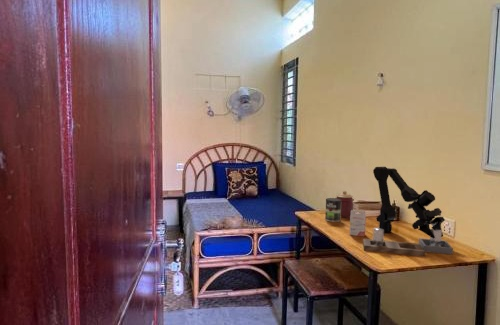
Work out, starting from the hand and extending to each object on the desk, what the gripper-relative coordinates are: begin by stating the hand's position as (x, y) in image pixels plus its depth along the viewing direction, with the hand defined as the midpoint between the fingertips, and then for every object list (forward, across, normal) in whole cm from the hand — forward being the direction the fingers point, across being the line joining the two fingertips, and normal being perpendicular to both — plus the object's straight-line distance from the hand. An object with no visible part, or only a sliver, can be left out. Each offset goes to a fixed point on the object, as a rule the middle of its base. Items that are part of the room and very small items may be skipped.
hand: (438, 237), depth 179 cm
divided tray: (-2, -22, +11) cm, 24 cm away
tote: (+4, 0, +6) cm, 7 cm away
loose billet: (+4, 0, +6) cm, 7 cm away
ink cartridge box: (-21, -20, +31) cm, 42 cm away
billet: (-5, -27, +15) cm, 31 cm away
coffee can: (-44, -11, +54) cm, 71 cm away
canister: (-50, +5, +60) cm, 78 cm away
